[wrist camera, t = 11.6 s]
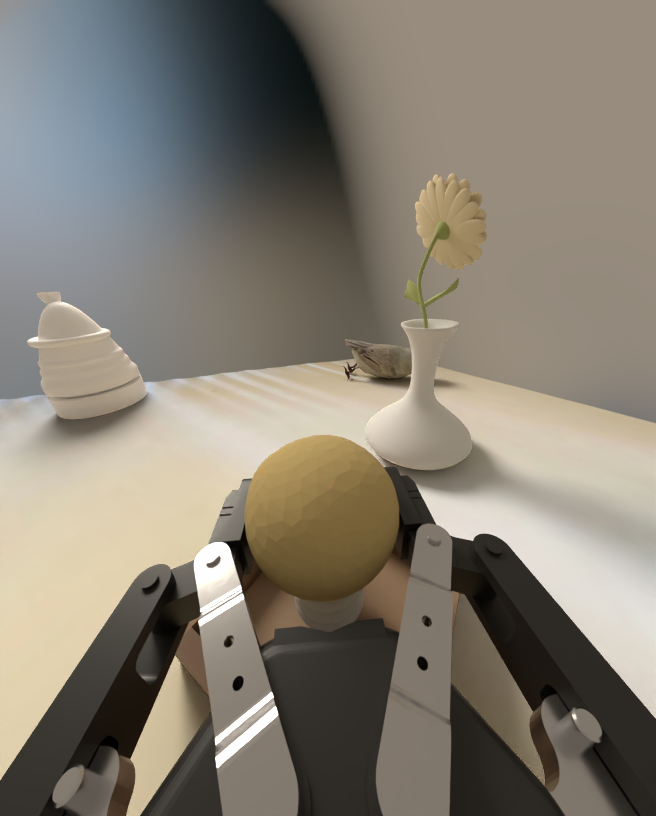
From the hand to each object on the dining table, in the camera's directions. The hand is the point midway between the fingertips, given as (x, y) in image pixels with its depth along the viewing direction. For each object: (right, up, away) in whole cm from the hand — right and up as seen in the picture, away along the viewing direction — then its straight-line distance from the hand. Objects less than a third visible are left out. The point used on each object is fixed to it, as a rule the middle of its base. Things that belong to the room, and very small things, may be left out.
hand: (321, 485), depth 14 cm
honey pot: (-40, +5, +33) cm, 52 cm away
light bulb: (0, -7, +1) cm, 7 cm away
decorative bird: (+11, +9, +36) cm, 39 cm away
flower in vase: (+10, 0, +17) cm, 20 cm away
